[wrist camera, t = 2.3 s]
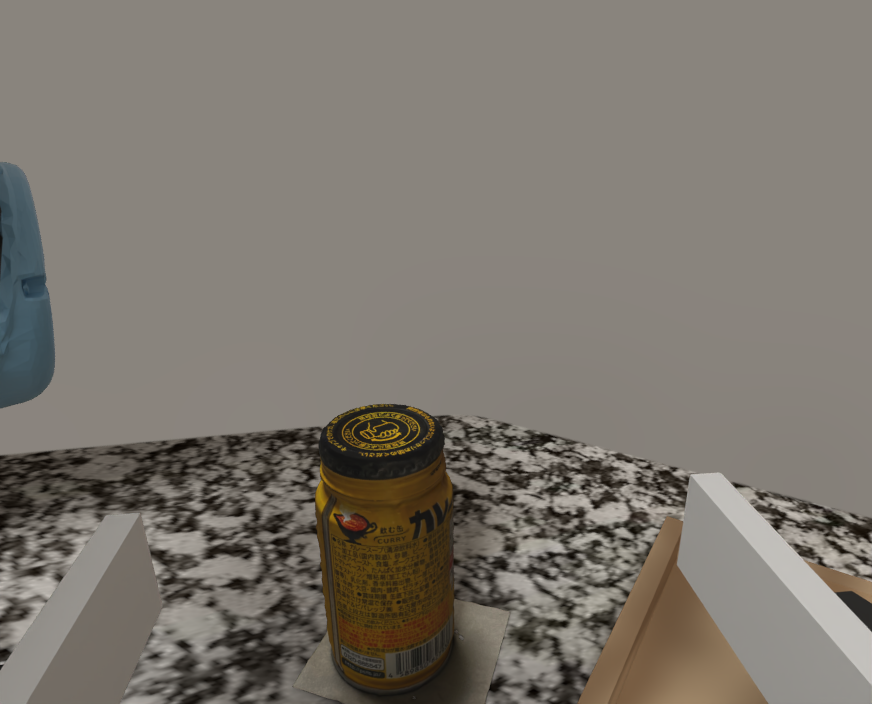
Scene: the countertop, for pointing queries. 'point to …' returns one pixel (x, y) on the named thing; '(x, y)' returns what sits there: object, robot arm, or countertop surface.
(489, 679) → the condiment
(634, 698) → the tray
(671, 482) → the countertop surface
